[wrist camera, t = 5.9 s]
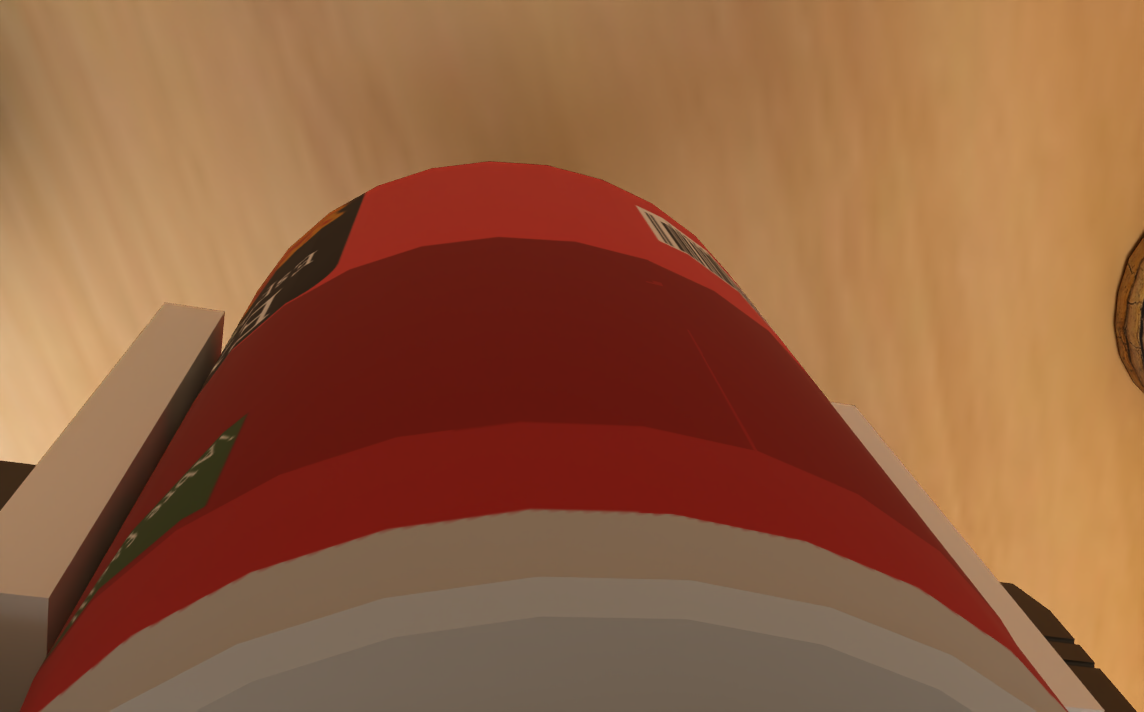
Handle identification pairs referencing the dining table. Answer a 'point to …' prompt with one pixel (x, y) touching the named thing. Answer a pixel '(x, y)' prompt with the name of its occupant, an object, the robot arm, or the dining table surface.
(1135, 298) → the wooden mug
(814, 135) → the dining table surface
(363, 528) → the canned food
